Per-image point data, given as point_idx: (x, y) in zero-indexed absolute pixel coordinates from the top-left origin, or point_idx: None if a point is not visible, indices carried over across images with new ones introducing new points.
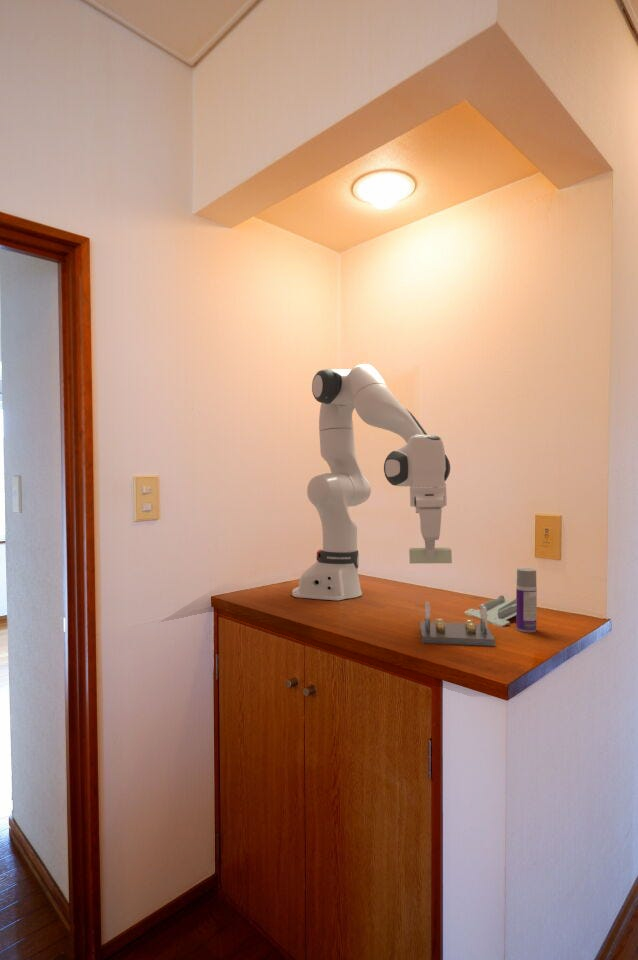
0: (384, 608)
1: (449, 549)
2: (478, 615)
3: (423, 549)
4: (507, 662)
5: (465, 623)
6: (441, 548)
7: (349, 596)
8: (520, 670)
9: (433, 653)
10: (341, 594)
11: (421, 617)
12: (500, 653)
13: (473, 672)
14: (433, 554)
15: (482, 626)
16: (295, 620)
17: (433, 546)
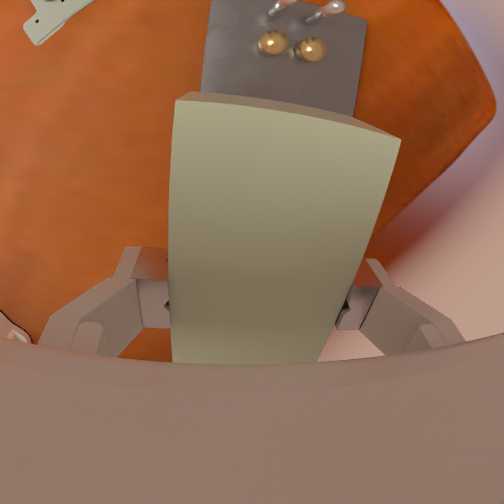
0: (38, 251)
1: (358, 144)
2: (75, 3)
3: (283, 340)
4: (443, 52)
5: (273, 54)
6: (246, 205)
7: (3, 318)
8: (470, 55)
9: (395, 170)
10: (13, 335)
11: (93, 160)
12: (402, 36)
13: (471, 132)
14: (378, 270)
15: (317, 22)
16: None
17: (422, 310)
